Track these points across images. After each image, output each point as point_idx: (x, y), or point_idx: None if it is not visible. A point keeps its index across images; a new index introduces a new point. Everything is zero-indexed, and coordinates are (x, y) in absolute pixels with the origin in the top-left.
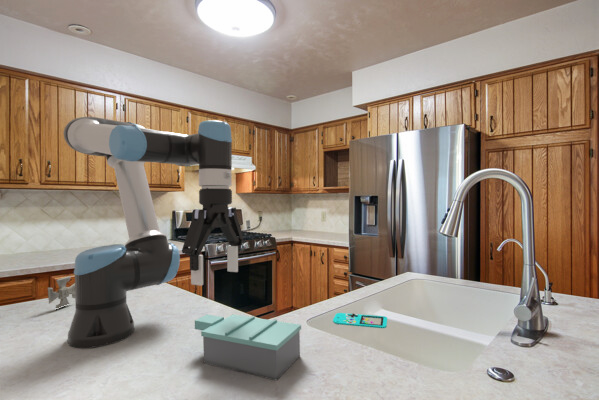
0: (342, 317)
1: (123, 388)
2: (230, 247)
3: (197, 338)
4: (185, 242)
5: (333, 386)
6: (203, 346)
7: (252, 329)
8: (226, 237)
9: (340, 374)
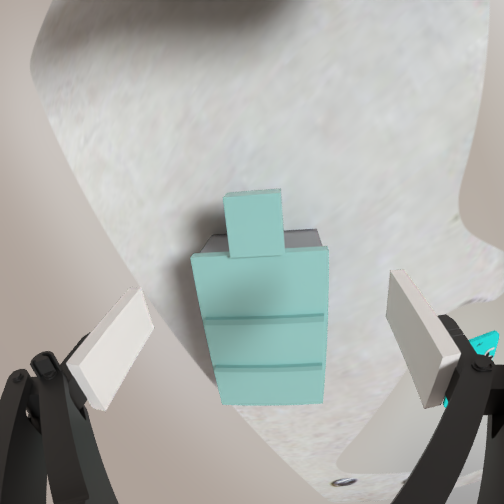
0: (479, 350)
1: (92, 182)
2: (432, 371)
3: (299, 127)
4: (3, 409)
5: (257, 414)
6: (203, 247)
7: (259, 348)
8: (439, 424)
9: (287, 413)
